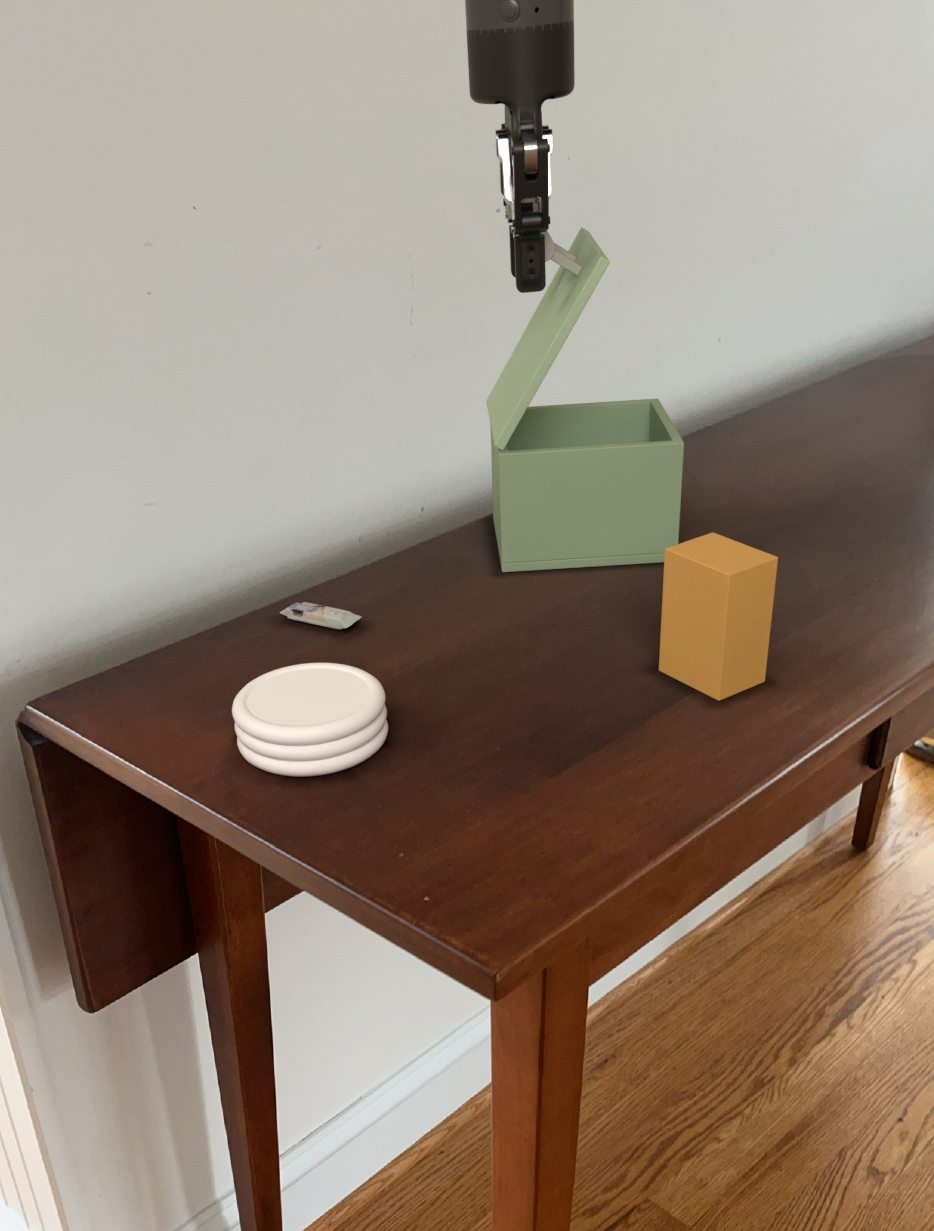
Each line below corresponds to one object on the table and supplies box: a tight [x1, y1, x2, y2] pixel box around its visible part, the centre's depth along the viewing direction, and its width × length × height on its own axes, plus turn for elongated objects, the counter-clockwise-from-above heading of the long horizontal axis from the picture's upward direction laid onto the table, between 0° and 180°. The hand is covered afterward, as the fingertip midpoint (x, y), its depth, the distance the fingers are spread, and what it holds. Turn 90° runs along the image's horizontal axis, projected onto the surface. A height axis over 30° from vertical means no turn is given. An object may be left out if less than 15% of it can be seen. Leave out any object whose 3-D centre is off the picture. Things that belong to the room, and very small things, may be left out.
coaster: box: [231, 662, 389, 778], centre depth 83 cm, size 10×10×4 cm
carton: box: [658, 532, 779, 702], centre depth 86 cm, size 4×6×9 cm
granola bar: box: [279, 600, 362, 630], centre depth 99 cm, size 7×1×3 cm
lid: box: [485, 227, 611, 450], centre depth 100 cm, size 15×13×5 cm
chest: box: [489, 398, 685, 573], centre depth 107 cm, size 15×13×10 cm
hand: (527, 282), depth 98 cm, fingers closed on lid, 5 cm apart
